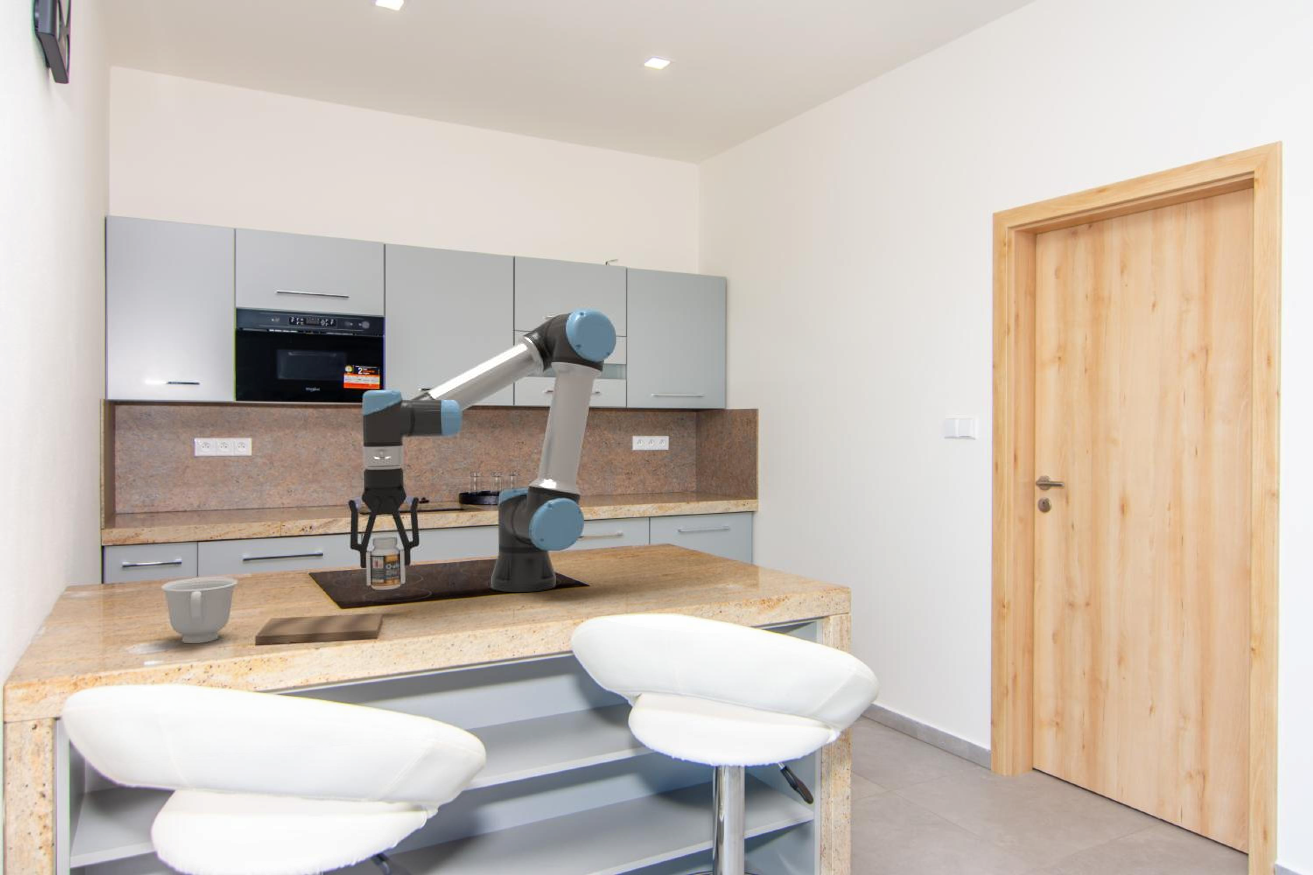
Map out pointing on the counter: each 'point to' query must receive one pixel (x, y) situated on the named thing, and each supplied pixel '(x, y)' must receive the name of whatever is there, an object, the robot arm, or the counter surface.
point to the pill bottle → (385, 564)
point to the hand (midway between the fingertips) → (386, 582)
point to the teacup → (199, 606)
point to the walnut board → (320, 628)
